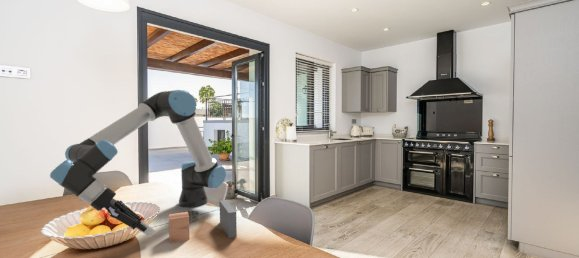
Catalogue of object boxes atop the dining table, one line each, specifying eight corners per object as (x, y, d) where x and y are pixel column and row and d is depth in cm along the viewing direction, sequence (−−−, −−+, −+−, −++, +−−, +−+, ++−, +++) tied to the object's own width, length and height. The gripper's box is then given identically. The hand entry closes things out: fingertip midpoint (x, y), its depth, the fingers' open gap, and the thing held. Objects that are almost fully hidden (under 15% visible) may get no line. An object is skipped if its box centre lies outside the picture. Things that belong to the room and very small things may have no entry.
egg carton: (181, 226, 119) (181, 217, 119) (171, 223, 123) (170, 214, 123) (201, 218, 128) (201, 210, 128) (191, 215, 132) (191, 207, 132)
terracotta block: (169, 236, 108) (168, 214, 108) (188, 233, 111) (187, 211, 111) (169, 243, 102) (169, 219, 102) (189, 239, 106) (189, 216, 105)
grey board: (219, 222, 122) (219, 200, 122) (226, 221, 124) (226, 199, 123) (229, 238, 106) (228, 212, 106) (236, 236, 107) (236, 211, 107)
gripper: (93, 199, 100) (145, 235, 107) (84, 209, 88) (144, 249, 96) (110, 183, 102) (160, 220, 109) (103, 191, 90) (160, 232, 98)
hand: (152, 233), depth 103 cm, fingers closed
